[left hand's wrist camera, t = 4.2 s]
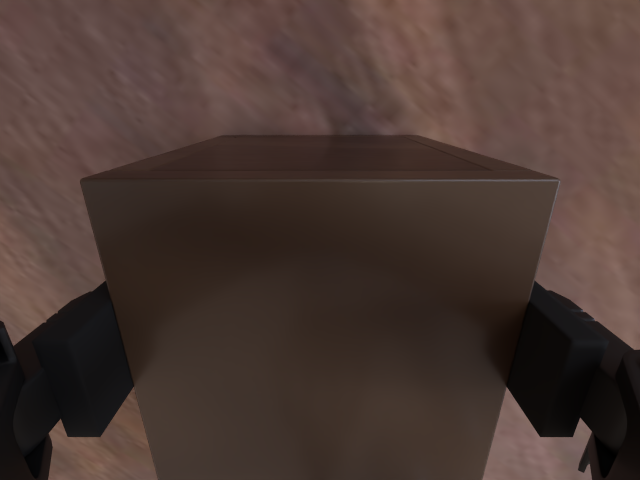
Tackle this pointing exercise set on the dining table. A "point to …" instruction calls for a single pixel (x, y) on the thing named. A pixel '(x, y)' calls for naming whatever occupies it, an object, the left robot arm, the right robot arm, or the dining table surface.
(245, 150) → the brown block
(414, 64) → the dining table surface
